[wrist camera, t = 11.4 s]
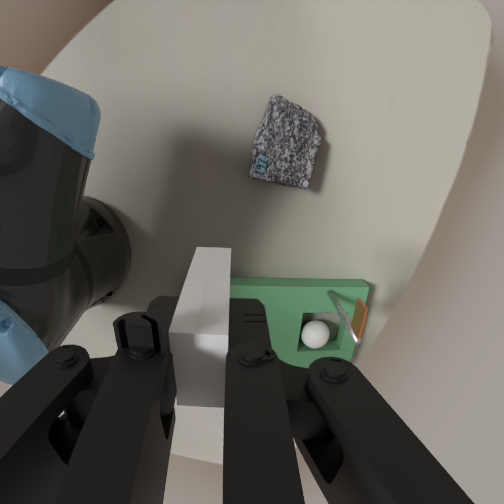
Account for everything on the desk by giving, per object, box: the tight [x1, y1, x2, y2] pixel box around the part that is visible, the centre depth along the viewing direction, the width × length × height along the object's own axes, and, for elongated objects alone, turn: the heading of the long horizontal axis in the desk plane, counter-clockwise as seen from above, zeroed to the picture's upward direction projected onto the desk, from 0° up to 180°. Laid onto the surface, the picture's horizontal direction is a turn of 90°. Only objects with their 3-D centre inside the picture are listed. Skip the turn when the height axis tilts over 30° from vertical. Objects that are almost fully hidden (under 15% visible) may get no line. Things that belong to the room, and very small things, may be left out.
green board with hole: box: [184, 276, 369, 368], centre depth 42 cm, size 24×14×2 cm, turn 87°
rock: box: [248, 94, 322, 189], centre depth 34 cm, size 8×10×4 cm
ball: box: [301, 320, 329, 348], centre depth 42 cm, size 4×4×4 cm
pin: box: [327, 290, 368, 345], centre depth 34 cm, size 1×4×11 cm, turn 177°
